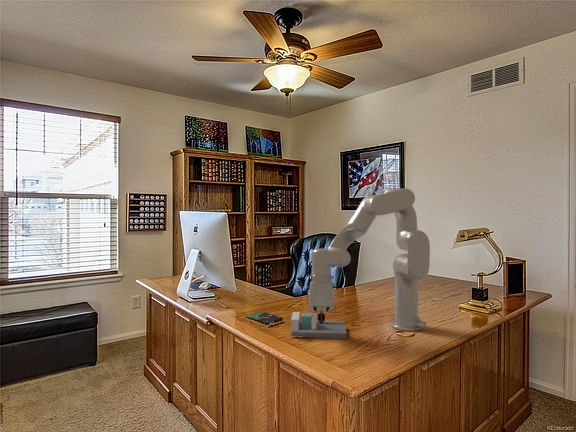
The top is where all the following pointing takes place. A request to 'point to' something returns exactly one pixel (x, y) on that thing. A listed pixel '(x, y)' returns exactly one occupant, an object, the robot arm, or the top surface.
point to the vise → (318, 328)
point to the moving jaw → (313, 321)
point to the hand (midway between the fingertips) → (321, 322)
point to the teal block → (306, 321)
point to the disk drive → (264, 318)
